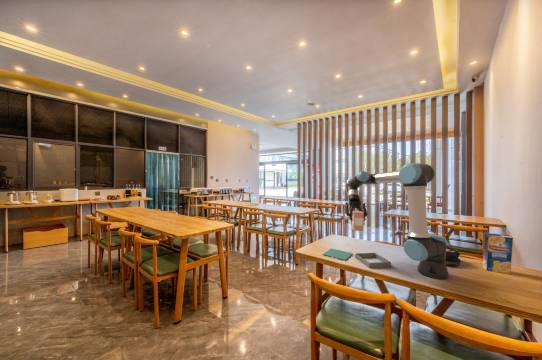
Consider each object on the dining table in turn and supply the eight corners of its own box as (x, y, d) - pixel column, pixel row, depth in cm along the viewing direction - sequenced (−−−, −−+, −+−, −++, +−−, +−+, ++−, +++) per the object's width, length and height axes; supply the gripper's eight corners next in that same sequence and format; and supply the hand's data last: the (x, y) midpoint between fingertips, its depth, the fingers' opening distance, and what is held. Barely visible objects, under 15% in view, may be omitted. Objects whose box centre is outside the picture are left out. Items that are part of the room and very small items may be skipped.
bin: (390, 266, 146) (391, 262, 146) (369, 267, 144) (369, 263, 144) (374, 257, 163) (375, 252, 163) (355, 257, 161) (355, 253, 160)
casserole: (423, 252, 175) (424, 241, 174) (453, 256, 168) (454, 245, 168) (432, 264, 152) (433, 252, 151) (468, 269, 145) (469, 256, 144)
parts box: (360, 228, 160) (361, 211, 160) (363, 230, 154) (363, 212, 154) (351, 228, 161) (352, 210, 160) (353, 230, 155) (354, 212, 154)
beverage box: (510, 274, 139) (513, 237, 139) (486, 270, 144) (488, 235, 144) (505, 270, 145) (508, 235, 145) (482, 266, 151) (484, 232, 150)
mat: (352, 254, 167) (352, 253, 167) (345, 260, 154) (345, 259, 154) (331, 249, 177) (331, 248, 177) (322, 255, 164) (322, 254, 164)
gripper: (366, 200, 171) (372, 228, 155) (339, 199, 173) (343, 226, 157) (368, 194, 166) (375, 222, 150) (341, 193, 168) (345, 220, 152)
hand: (358, 224), depth 154 cm, fingers closed on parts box, 6 cm apart
